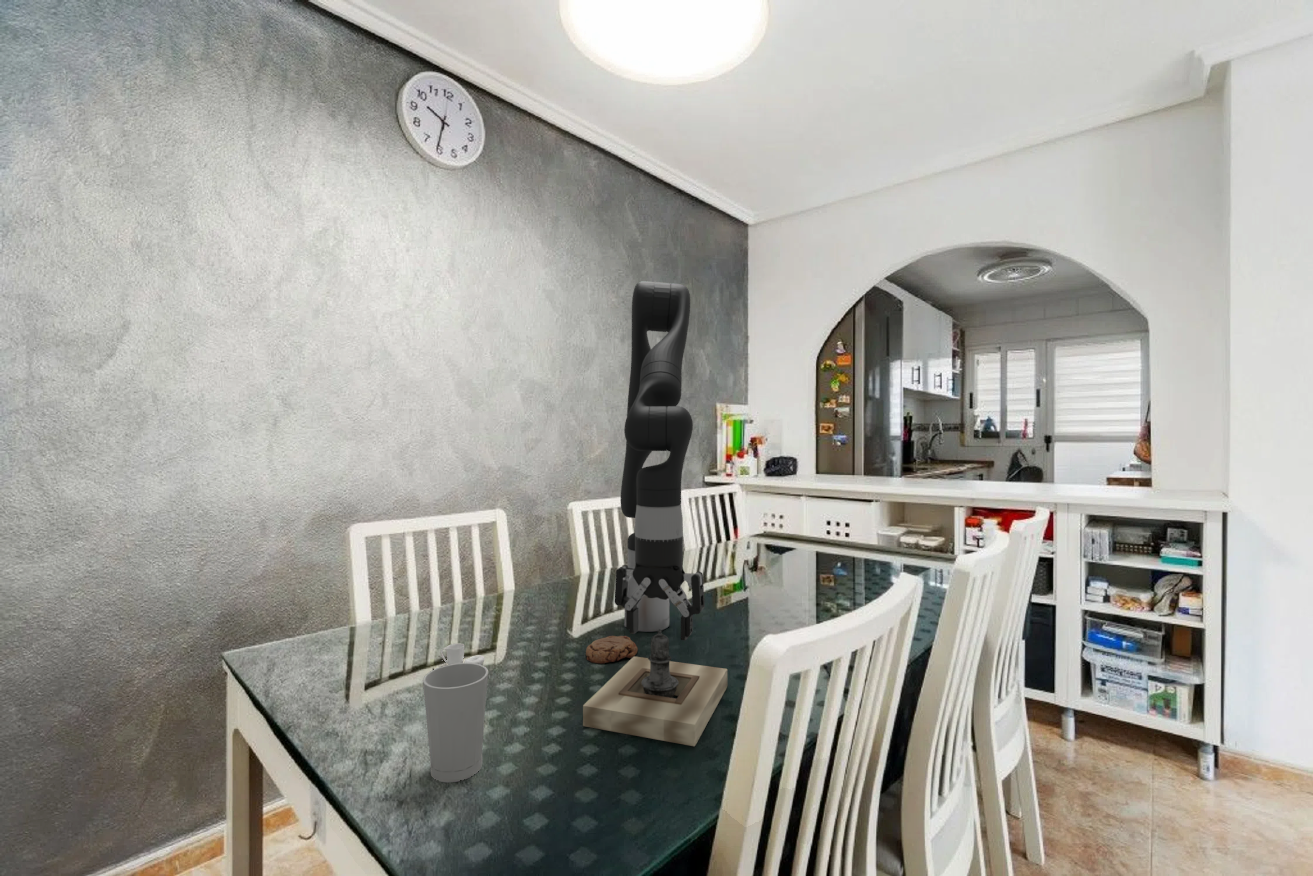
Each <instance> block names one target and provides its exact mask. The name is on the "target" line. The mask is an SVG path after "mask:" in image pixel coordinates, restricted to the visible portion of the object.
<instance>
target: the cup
mask: <svg viewBox="0 0 1313 876" xmlns="http://www.w3.org/2000/svg"><path fill="white" fill-rule="evenodd" d="M488 680H489V670H488V668H487V667H486V666H485V665H483V664H481V665H480V664H475V663H464V662H463V663H457V664H450V665H448V664H446V665H443V666H442V665H441V666H440V667H439V668H436V669H434V670H433V669H432V670H430V671H428V672H427V673H426V674H425V675H424V676H423V678H422V686H423V696H424V705H425V706H424V707H425V716H426V717H425V718H426V729H427V730H426V731H427V739H428V749H429V762H430V763H429V764H430V776H431V777H433V778H434V780H435V779H436V780H435V781H437V780H439V781H438V782H440V783H456V782H457V783H458V782H461V781H460V780H462V781H464V779H465V780H467V779H470V778H472V777H473V776H475V775H476V774H477V773H479V772H478V771H480V770H481V769H482V767H483V748H484V747H483V744H484V733H485V732H484V731H485V720H486V719H485V716H486V715H485V714H486V703H487V701H486V700H487V692H488ZM474 774H475V775H474ZM471 776H472V777H471ZM433 778H432V779H433Z"/></svg>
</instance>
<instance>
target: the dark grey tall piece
mask: <svg viewBox="0 0 1313 876" xmlns="http://www.w3.org/2000/svg"><path fill="white" fill-rule="evenodd" d="M662 632H663V630H660V629H659V630H658V631H657V633H656V634H654V635H653V636H651V638H650V655H649V656H648V657H647V658H648V659H649V661H650V675H649V676H647V677H645V678H644V679H643V680H642V682H641V684H642V686H643V689H644V694H650V695H656V696H662V697H669V698H674V696H675V695H674V694H675V692H676V688H677V686H678V683H679V682H678V680H677V679H676V678H675V677H673V676H671V675H670V670H669V661H671V660H672V657H671V655H670V640H669V638H668V636H667V635H665V634H663V633H662Z"/></svg>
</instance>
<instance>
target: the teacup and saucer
mask: <svg viewBox="0 0 1313 876" xmlns="http://www.w3.org/2000/svg"><path fill="white" fill-rule="evenodd" d="M444 650H445V651H446V657H445V656H444V654H443V652H444ZM464 655H465V644H464V643H460V642H458V643H451V644H449V645H447V646H445V647H443V648H441V650H440V656H441V657H442V659H443V660H444V661H445V662H446V663H445V664H446V665H450V664H457V663H475V664H480V665H483V664H484V662H485V656H484V655H481V654H477V655H473V656H470V658H468V659H466V660H463V658H464V657H465V656H464ZM446 659H447V660H446Z"/></svg>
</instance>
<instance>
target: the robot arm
mask: <svg viewBox="0 0 1313 876" xmlns="http://www.w3.org/2000/svg"><path fill="white" fill-rule="evenodd" d="M690 314H691V295H690V291H689V288H688V287H687V286H686V285H684V284H680V283H673V282H662V281H660V282H659V281H650V280H649V281H647V280H646V281H645V280H644V281H643V280H641V281H639V282H637V283H636V285H635V286H634V288H633V292H632V298H631V351H630V352H631V357H630V373H629V384H628V395H627V408H626V409H627V411H626V418H625V422H624V431H623V432H624V438H625V440H626V441H625V453H624V454H625V456H624V465H623V471H622V479H621V487H620V509H621V512H622V514H623V515H624V516H625V517H626V518H631V519H634V527H633V529H634V532H633V533H630V534H629V536H628V538H627V564H624V565H621V566H620V567H618V568H617V569H616V571H615V586H614V604H615V605H616V606H621V607H622V608H624V628H626V629H627V630H629V634H631V635H635V634H636V633H637V632H649V633H650V632H651V633H652V632H658V630H659V629H660V630H661V631H664V630H665V629H667V628H668V627H670V602H671V603H672V604H673V606H675V607H676V608H677V609H678V611H679V612H680V614H681V616H680V640H681V641H687V640H688V639H689V637H690V636H691V635H692V634H693V630H694V627H693V625H694V623H693V622H694V620H693V619H694V618H693V617H694V615H699V614H701V612H702V611H703V610H704V609H705V607H706V606H705V589H704V575H703V574H704V573H702V571H696V572H695V573H692V572H691V573H689V572H685V570H684V567H683V566H684V565H683V563H684V562H683V560H684V559H683V558H684V551H683V550H684V547H683V545H684V542H683V541H684V537H683V536H684V533H683V531H684V524H683V523H684V522H683V521H684V519H683V511H682V510H683V509H682V477H683V476H682V475H683V468H684V464H685V458H686V455H687V451H688V448H689V444H690V441H691V439H692V435H693V430H694V429H693V428H694V422H693V418H692V416H691V413H690V412H689V411H688V410H687V409H686V408H685V407H683V406H681V405H680V406H678V405H679V404H680V402H681V399H682V381H683V380H682V376H683V375H682V367H683V359H684V353H685V350H686V349H685V348H686V344H687V343H686V342H687V338H688V333H689V332H688V330H689V323H690V316H691V315H690ZM648 332H661V333H667V334H666V335H665V336H664V337H662V339H660V340H659V342H657V343H656V344H655V345H653V347H652V348H651V346H650V342H649V338H648ZM652 452H669V456H668V457H667V459H666V460H665V461H663V462H662V463H659V464H653V465H650V466H645V467H644V465H645V462H646V461H647V459H648V458H649V456H650V455H651V453H652ZM684 581H685V582H686V583H687V586H688V588H690V589H691V599H692V602H691V601H690V600H689V599H688V595H687V593H686V592H685V591H684V589H683V587H682V585H683V583H685V582H684Z"/></svg>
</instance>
